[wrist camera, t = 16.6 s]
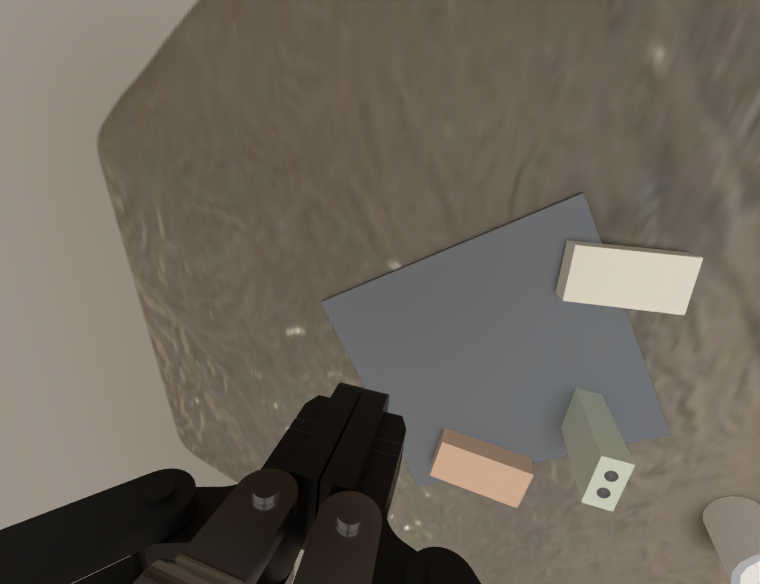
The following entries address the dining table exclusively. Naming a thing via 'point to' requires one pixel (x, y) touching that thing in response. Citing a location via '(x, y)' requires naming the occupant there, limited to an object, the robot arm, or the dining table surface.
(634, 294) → the tile
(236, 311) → the dining table surface
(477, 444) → the peach dotted block
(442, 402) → the slate mat
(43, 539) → the robot arm
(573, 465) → the tile
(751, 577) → the white cup
